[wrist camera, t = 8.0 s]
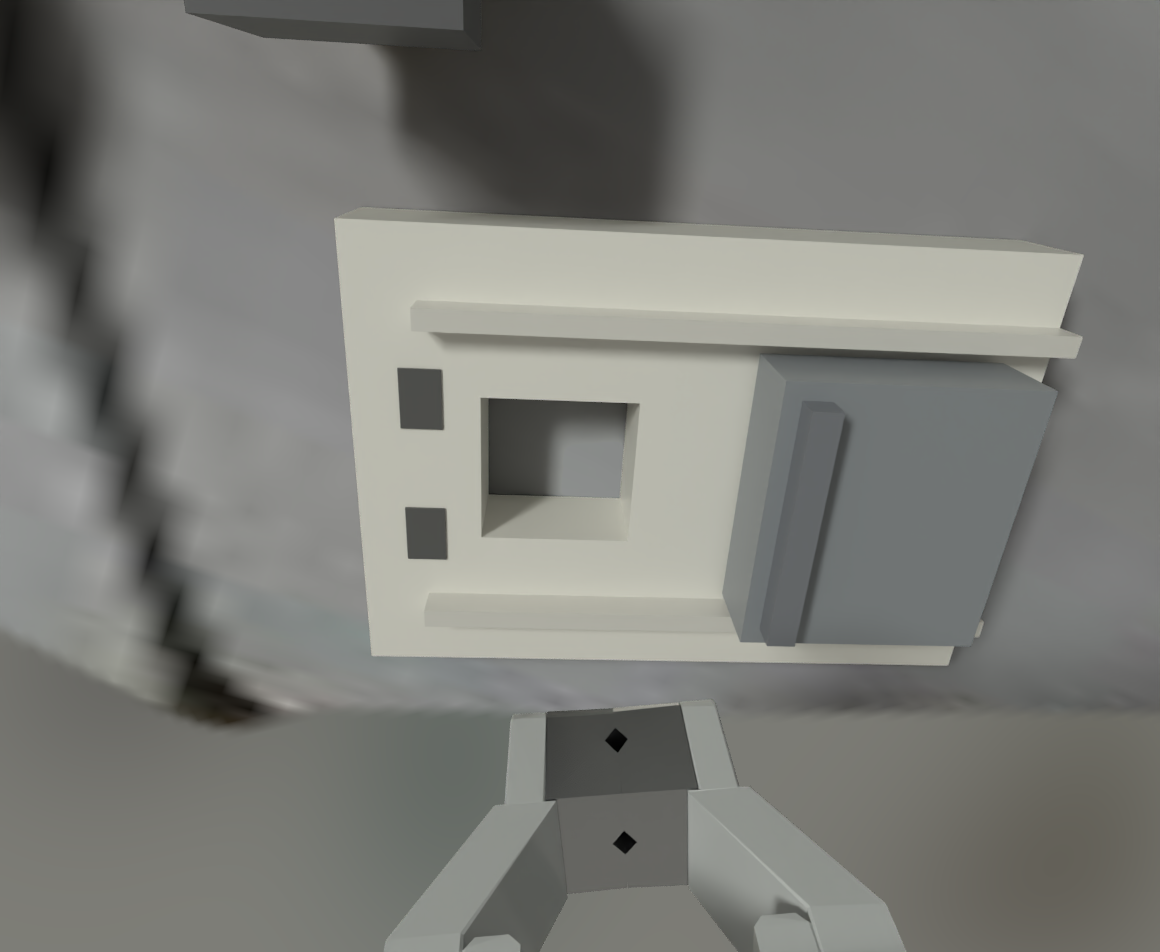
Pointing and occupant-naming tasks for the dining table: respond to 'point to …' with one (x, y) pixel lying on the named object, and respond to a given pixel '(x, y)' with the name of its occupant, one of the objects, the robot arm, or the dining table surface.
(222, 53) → the dining table surface
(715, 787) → the robot arm
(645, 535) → the socket plate
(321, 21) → the plug
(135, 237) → the dining table surface
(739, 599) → the cover
